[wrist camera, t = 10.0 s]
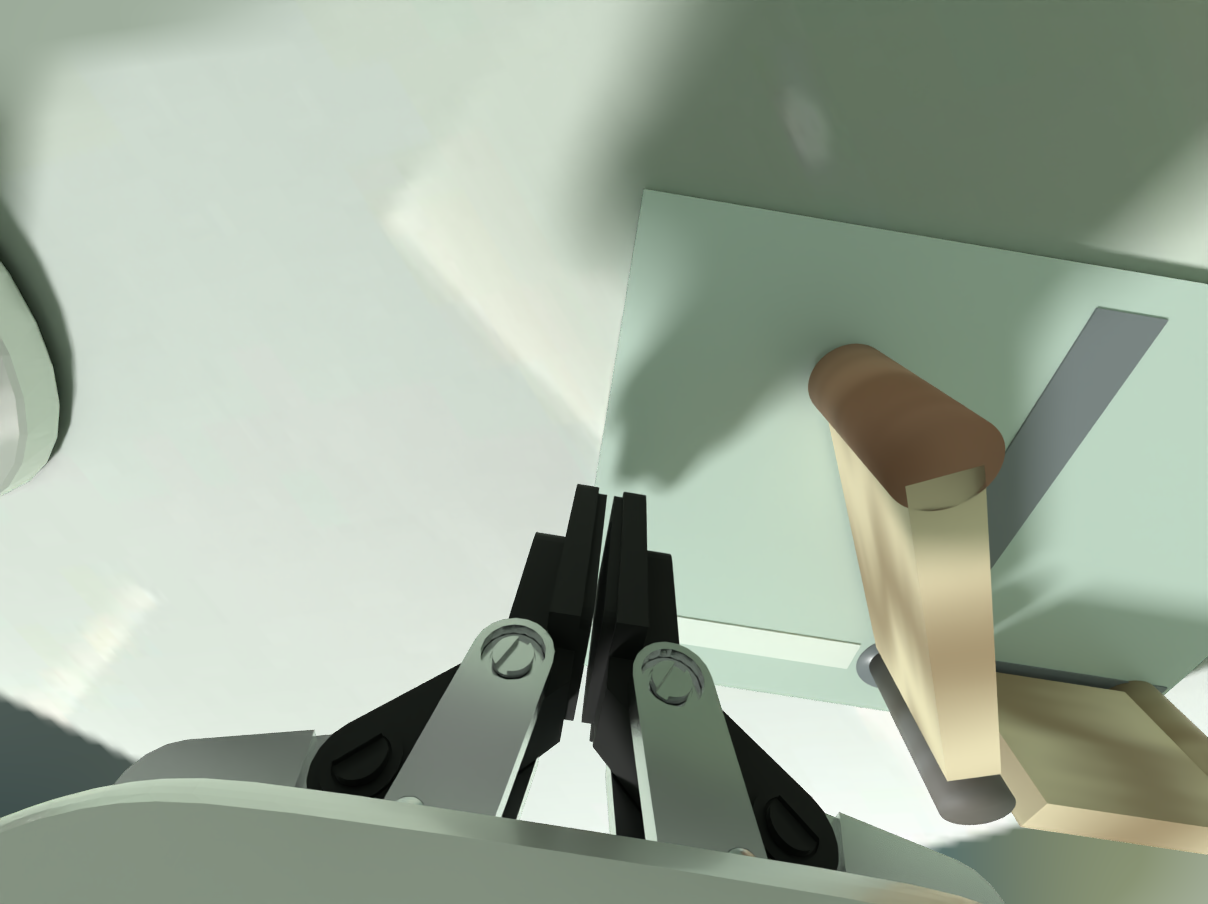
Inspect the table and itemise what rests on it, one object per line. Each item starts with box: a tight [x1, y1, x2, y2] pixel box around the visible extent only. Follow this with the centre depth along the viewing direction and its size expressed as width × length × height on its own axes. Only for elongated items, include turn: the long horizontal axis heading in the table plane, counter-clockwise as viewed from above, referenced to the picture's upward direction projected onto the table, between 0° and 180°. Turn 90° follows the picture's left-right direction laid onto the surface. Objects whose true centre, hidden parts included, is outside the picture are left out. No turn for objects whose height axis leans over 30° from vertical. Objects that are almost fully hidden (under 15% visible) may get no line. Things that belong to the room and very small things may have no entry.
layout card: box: [584, 189, 1208, 712], centre depth 14 cm, size 20×15×1 cm
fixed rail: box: [869, 653, 1208, 855], centre depth 14 cm, size 10×2×5 cm, turn 81°
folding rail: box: [808, 344, 1005, 781], centre depth 11 cm, size 10×2×4 cm, turn 22°
